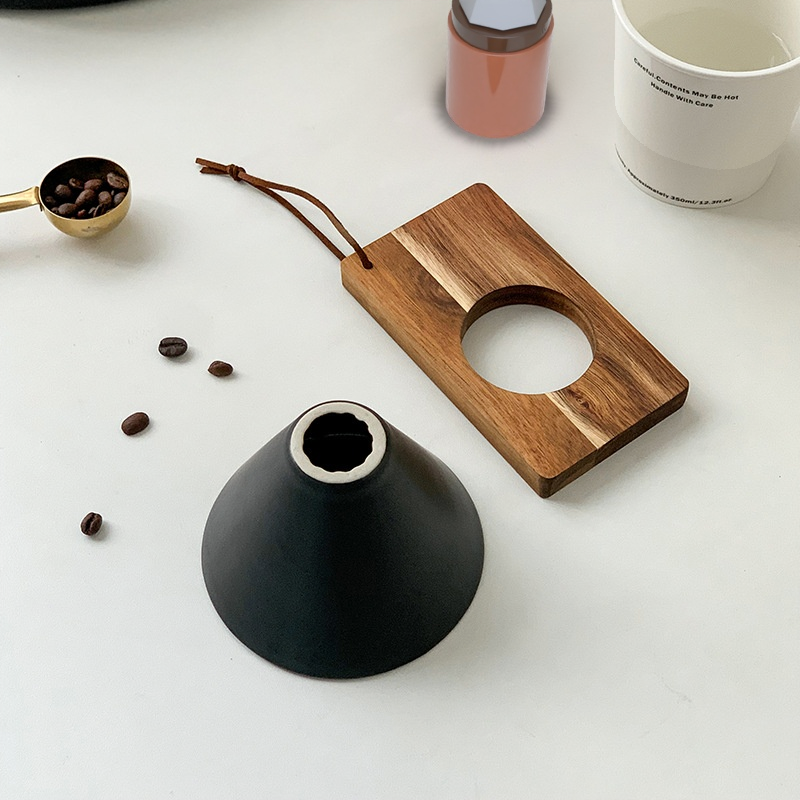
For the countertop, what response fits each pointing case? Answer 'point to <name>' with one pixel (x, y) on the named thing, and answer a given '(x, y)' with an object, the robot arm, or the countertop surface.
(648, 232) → the countertop surface
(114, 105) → the countertop surface
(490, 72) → the jar
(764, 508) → the countertop surface
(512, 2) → the flask
